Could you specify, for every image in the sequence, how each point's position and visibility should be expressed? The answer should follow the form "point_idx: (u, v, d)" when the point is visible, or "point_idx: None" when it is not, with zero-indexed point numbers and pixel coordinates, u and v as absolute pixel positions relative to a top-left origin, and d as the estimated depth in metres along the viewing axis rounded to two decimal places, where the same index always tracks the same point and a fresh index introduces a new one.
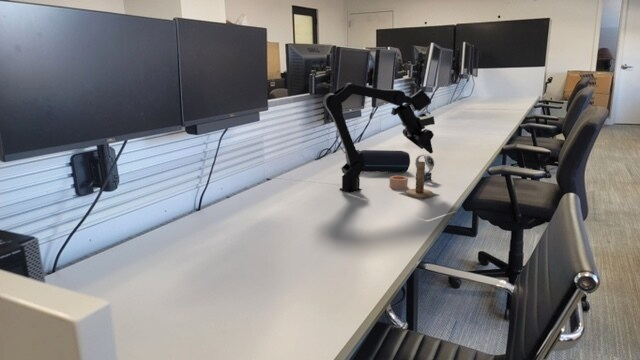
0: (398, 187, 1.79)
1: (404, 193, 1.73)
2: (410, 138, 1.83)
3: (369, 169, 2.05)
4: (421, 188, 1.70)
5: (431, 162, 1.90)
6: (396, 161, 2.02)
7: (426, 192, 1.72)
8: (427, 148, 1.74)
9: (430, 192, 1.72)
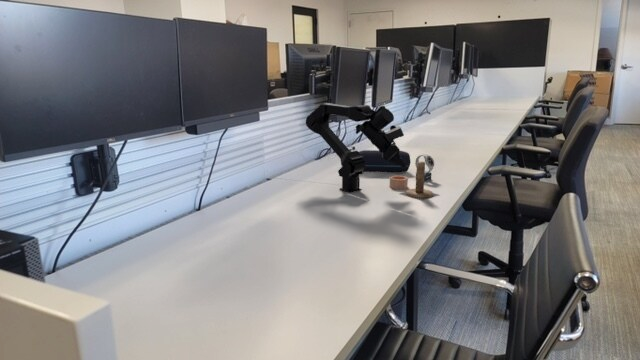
0: (398, 187, 1.79)
1: (404, 193, 1.73)
2: None
3: (369, 170, 2.05)
4: (421, 188, 1.70)
5: (431, 162, 1.90)
6: None
7: (426, 192, 1.72)
8: (398, 163, 1.63)
9: (430, 192, 1.72)
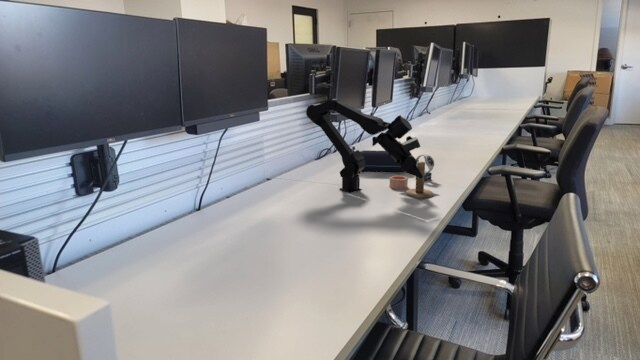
0: (398, 187, 1.79)
1: (404, 193, 1.73)
2: None
3: (369, 170, 2.04)
4: (421, 188, 1.70)
5: (431, 162, 1.90)
6: None
7: (426, 192, 1.72)
8: (415, 174, 1.64)
9: (430, 192, 1.72)
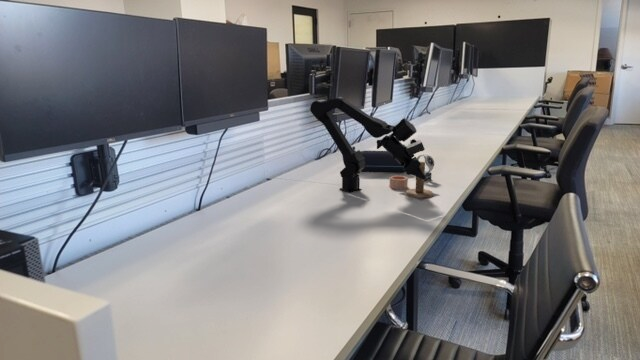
0: (398, 187, 1.79)
1: (404, 193, 1.73)
2: None
3: (369, 170, 2.04)
4: (421, 188, 1.70)
5: (431, 162, 1.90)
6: (397, 161, 2.01)
7: (426, 192, 1.72)
8: (418, 175, 1.67)
9: (430, 192, 1.72)
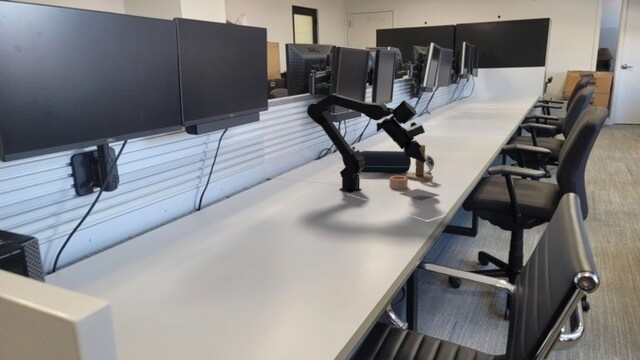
0: (398, 187, 1.79)
1: (404, 193, 1.73)
2: None
3: (369, 170, 2.04)
4: (421, 171, 1.69)
5: (431, 162, 1.90)
6: (397, 162, 2.00)
7: (427, 176, 1.70)
8: (418, 158, 1.66)
9: (430, 176, 1.70)
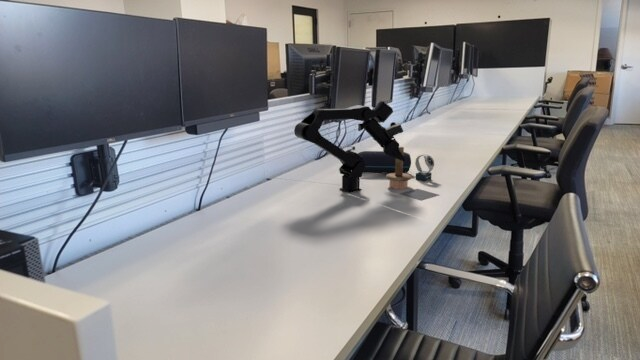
0: (398, 187, 1.79)
1: (404, 193, 1.73)
2: None
3: (370, 171, 2.03)
4: (400, 172, 1.80)
5: (431, 162, 1.90)
6: None
7: (405, 176, 1.81)
8: (397, 157, 1.75)
9: (409, 176, 1.81)
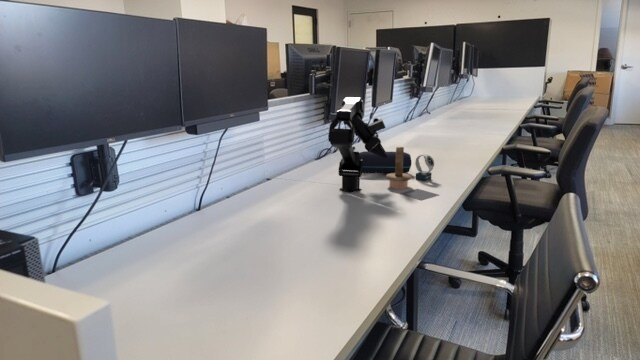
0: (398, 187, 1.79)
1: (404, 193, 1.73)
2: None
3: (370, 171, 2.02)
4: (400, 172, 1.80)
5: (431, 162, 1.90)
6: None
7: (405, 176, 1.81)
8: (379, 153, 1.74)
9: (409, 176, 1.81)
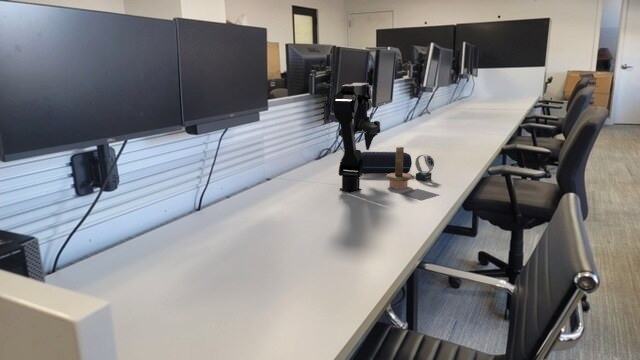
0: (398, 187, 1.79)
1: (404, 193, 1.73)
2: (365, 134, 1.92)
3: (370, 171, 2.02)
4: (400, 172, 1.80)
5: (431, 162, 1.90)
6: None
7: (405, 176, 1.81)
8: None
9: (409, 176, 1.81)
